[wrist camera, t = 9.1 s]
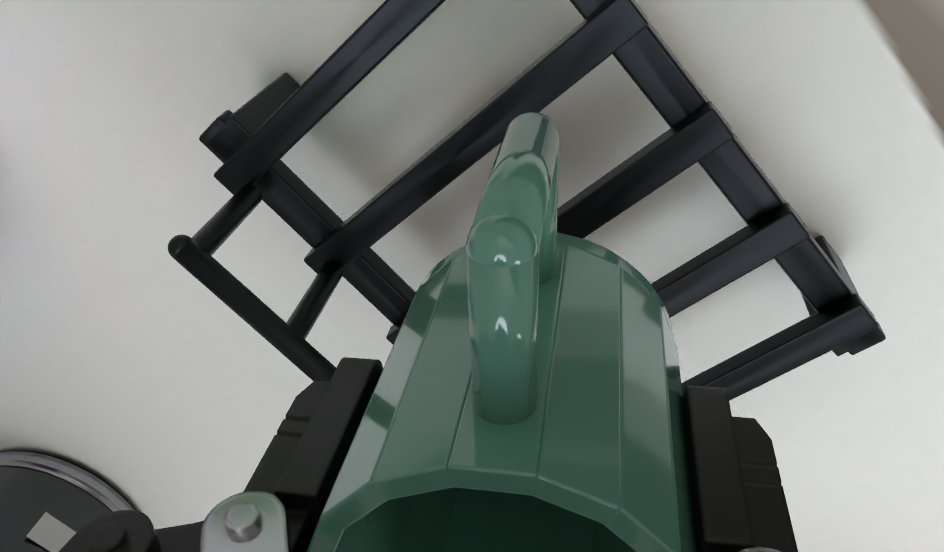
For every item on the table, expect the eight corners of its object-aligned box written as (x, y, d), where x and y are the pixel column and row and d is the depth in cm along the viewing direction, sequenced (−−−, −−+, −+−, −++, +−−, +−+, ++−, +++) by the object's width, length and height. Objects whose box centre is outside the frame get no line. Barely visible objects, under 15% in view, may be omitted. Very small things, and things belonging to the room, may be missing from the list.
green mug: (660, 454, 17) (678, 747, 12) (418, 431, 18) (332, 692, 13) (709, 85, 13) (774, 288, 7) (383, 79, 14) (229, 256, 8)
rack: (254, 94, 23) (102, 213, 17) (518, -183, 18) (460, -180, 12) (572, 413, 28) (559, 609, 21) (851, 262, 23) (953, 454, 16)
